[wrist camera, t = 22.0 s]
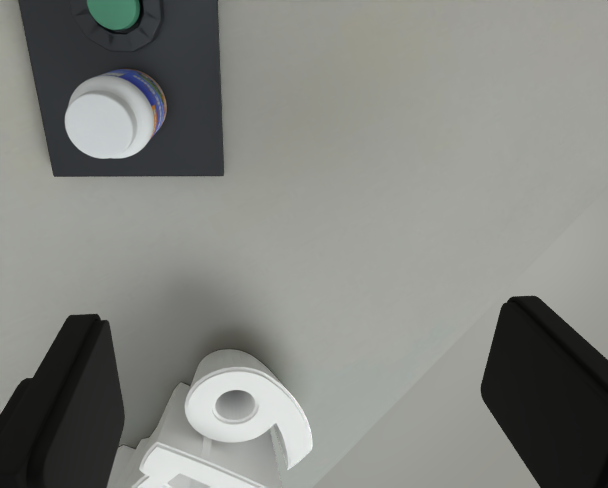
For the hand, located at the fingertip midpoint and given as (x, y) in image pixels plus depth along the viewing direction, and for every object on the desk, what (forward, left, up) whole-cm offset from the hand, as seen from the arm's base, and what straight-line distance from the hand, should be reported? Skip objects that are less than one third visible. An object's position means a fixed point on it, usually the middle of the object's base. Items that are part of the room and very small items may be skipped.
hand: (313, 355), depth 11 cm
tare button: (-8, -10, -30) cm, 32 cm away
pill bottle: (-1, -10, -31) cm, 33 cm away
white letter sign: (+37, -9, -32) cm, 50 cm away
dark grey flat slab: (-3, -10, -32) cm, 34 cm away
